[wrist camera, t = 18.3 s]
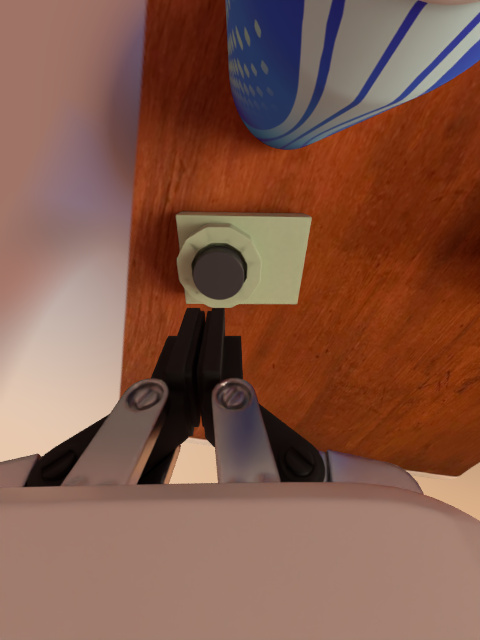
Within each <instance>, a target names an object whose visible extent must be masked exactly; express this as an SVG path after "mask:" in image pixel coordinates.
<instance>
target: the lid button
mask: <svg viewBox="0 0 480 640" xmlns="http://www.w3.org/2000/svg"><path fill="white" fill-rule="evenodd" d="M193 280H194V283H195V285H196V287H197V289H198V290H199V291H200V292H201V293H202V294H203V295H205V296H206V297H208V298H211V299H215V300H224V299H228V298H231V297H233V296H234V295H235V294H237V293H238V292H239V290H240V289H241V287H242V285H243V282H244V268H243V263H242V260H241V258H240V257H239V255H238V254H237V253H236V252H235V251H233V250H232V249H230V248H228V247H225V246H213V247H210V248H208V249H206V250H204V251H203V252H202V253H201V254H200V256H199V257H198V259H197V262H196V264H195V266H194V270H193Z"/></svg>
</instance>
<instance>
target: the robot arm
mask: <svg viewBox="0 0 480 640" xmlns="http://www.w3.org/2000/svg"><path fill="white" fill-rule="evenodd" d="M200 416H201V417H202V425H203V427H204V428H205V437H206V439H207V440H208V441H209V442H210V443H211V444H212V445H213V446H214V447H215V452H216V464H217V476H218V483H204V484H203V483H201V484H169V481H170V478H171V476H172V473H173V470H174V467H175V464H176V461H177V458H178V455H179V452H180V447H181V445H180V444H182V443H183V442H184V441H185V440H186V439H187V438H188V436H193V431H194V427H199V423H200ZM0 640H480V521H479V520H477V519H475V518H474V517H472V516H470V515H468V514H466V513H465V512H463V511H461V510H459V509H457V508H455V507H453V506H451V505H449V504H446V503H444V502H442V501H439V500H437V499H435V498H432V497H429V496H426V495H424V494H423V492H422V490H421V488H420V486H419V485H418V483H417V482H416V480H415V479H414V478H413V477H412V476H411V475H410V474H409V473H408V472H406V471H405V470H403V469H402V468H401V467H399V466H396V465H394V464H391V463H387V462H382V461H378V460H373V459H369V458H364V457H360V456H355V455H351V454H346V453H342V452H337V451H332V450H327V452H323V451H318V450H317V449H316V448H315V447H314V446H313V445H312V444H311V443H309V442H308V441H307V440H305V439H304V438H303V437H301V436H300V435H299V434H298V433H296V432H295V431H294V430H292V429H291V428H290V427H288V426H287V425H286V424H285V423H283V422H282V421H281V420H279V419H278V418H277V417H275V416H274V415H273V414H272V413H270V412H269V411H268V410H266V409H265V408H264V407H262V406H261V405H260V404H259V403H258V400H257V396H256V393H255V390H254V388H253V386H252V385H251V384H249V383H248V382H247V381H245V380H243V371H242V350H241V336H225V310H224V308H212V311H208V312H207V317H206V323H205V312H204V311H200V308H187V309H186V312H185V315H184V318H183V321H182V324H181V327H180V330H179V333H178V335H177V336H168V338H167V340H166V342H165V345H164V347H163V350H162V352H161V354H160V357H159V359H158V362H157V364H156V367H155V369H154V372H153V374H152V377H151V379H145V380H141V381H139V382H137V383H135V384H133V385H132V386H130V387H129V388H128V389H127V390H126V391H125V393H124V394H123V396H122V397H121V398H120V400H119V401H118V403H117V404H116V406H115V407H114V409H113V410H112V412H111V413H110V414H109V415H107V416H106V417H104V418H102V419H101V420H99V421H97V422H96V423H94V424H93V425H91V426H89V427H88V428H86V429H84V430H83V431H81V432H79V433H78V434H76V435H74V436H73V437H71V438H69V439H68V440H66V441H65V442H63V443H61V444H60V445H58V446H56V447H55V448H53V449H52V450H51V451H49V452H48V453H46V454H45V455H44V456H42V457H41V456H40V455H39V454H35V455H30V456H26V457H21V458H17V459H12V460H8V461H4V462H0Z"/></svg>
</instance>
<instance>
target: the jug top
mask: <svg viewBox="0 0 480 640" xmlns="http://www.w3.org/2000/svg"><path fill="white" fill-rule="evenodd" d="M311 218H312V217H310V216H308V215H306V214H297V213H238V212H180V213H178V214H177V215H176V223H177V231H178V239H179V248H180V253H179V255H178V257H177V268H178V275H179V281H180V283H181V284H182V285H183V287H184V290H185V298H186V304H205V305H207V306H209V307H211V308H231V307H233V306H235V305H237V304H297V301H298V295H299V289H300V283H301V277H302V271H303V265H304V260H305V254H306V248H307V242H308V236H309V230H310V224H311ZM213 246H225V247H228V248H230V249H232V250H233V251H235V252H236V253H237V254H238V255H239V257H240V258H241V260H242V263H243V268H244V282H243V285H242V287H241V289H240V290H239V292H238V293H237V294H235V295H234V296H233V297H231V298H228V299H224V300H215V299H211V298H208V297H206V296H205V295H203V294H202V293H201V292H200V291H199V290H198V289H197V287H196V285H195V283H194V280H193V270H194V266H195V264H196V262H197V259H198V257H199V256H200V254H201V253H202V252H203V251H204V250H206V249H208V248H210V247H213Z"/></svg>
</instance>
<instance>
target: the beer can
mask: <svg viewBox="0 0 480 640" xmlns="http://www.w3.org/2000/svg"><path fill="white" fill-rule="evenodd" d="M226 21H227V41H228V62H229V79H230V86H231V91H232V96H233V99H234V103H235V106H236V108H237V111H238V113H239V115H240V117H241V119H242V121H243V122H244V124H245V125H246V127H247V128H248V129H249V131H250V132H251V133H252V134H253V135H254V136H255V137H256V138H257V139H259V140H260V141H261V142H263V143H265V144H266V145H269V146H271V147H274V148H277V149H284V150H292V149H298V148H302V147H305V146H307V145H309V144H312V143H314V142H316V141H319V140H321V139H323V138H325V137H328V136H330V135H332V134H334V133H337V132H339V131H341V130H344V129H346V128H348V127H350V126H353V125H355V124H357V123H359V122H362V121H364V120H366V119H369V118H371V117H373V116H375V115H378V114H380V113H382V112H384V111H387V110H389V109H391V108H394V107H396V106H398V105H400V104H403V103H405V102H407V101H409V100H412V99H414V98H416V97H419V96H421V95H423V94H425V93H428V92H430V91H432V90H434V89H436V88H437V87H439V86H441V85H443V84H445V83H447V82H448V81H450V80H451V79H453V78H454V77H456V76H458V75H459V74H461V73H462V72H464V71H465V70H467V69H468V68H470V67H471V66H472V65H474V64H475V63H476V62H478V61H479V60H480V0H226Z"/></svg>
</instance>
